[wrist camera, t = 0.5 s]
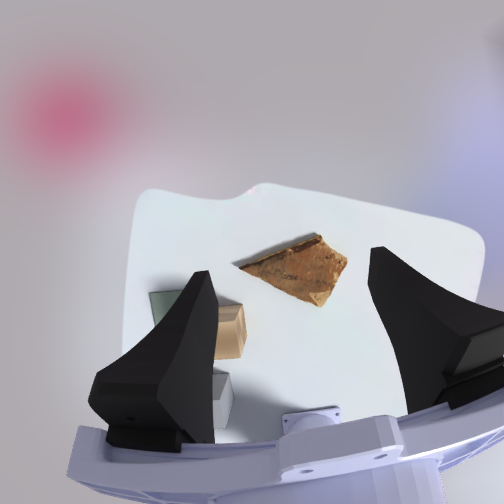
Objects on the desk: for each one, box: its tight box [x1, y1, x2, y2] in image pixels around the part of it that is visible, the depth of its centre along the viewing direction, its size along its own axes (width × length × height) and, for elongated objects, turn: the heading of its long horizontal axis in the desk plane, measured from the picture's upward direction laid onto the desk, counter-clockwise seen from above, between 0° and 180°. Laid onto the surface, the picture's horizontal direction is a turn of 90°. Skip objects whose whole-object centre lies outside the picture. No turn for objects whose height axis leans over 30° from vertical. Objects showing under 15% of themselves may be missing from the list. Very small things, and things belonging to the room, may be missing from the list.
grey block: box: [213, 373, 234, 428], centre depth 34 cm, size 4×4×7 cm
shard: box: [239, 235, 348, 307], centre depth 35 cm, size 11×8×2 cm
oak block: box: [214, 304, 247, 360], centre depth 34 cm, size 4×4×7 cm
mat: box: [150, 290, 183, 325], centre depth 37 cm, size 9×7×1 cm
